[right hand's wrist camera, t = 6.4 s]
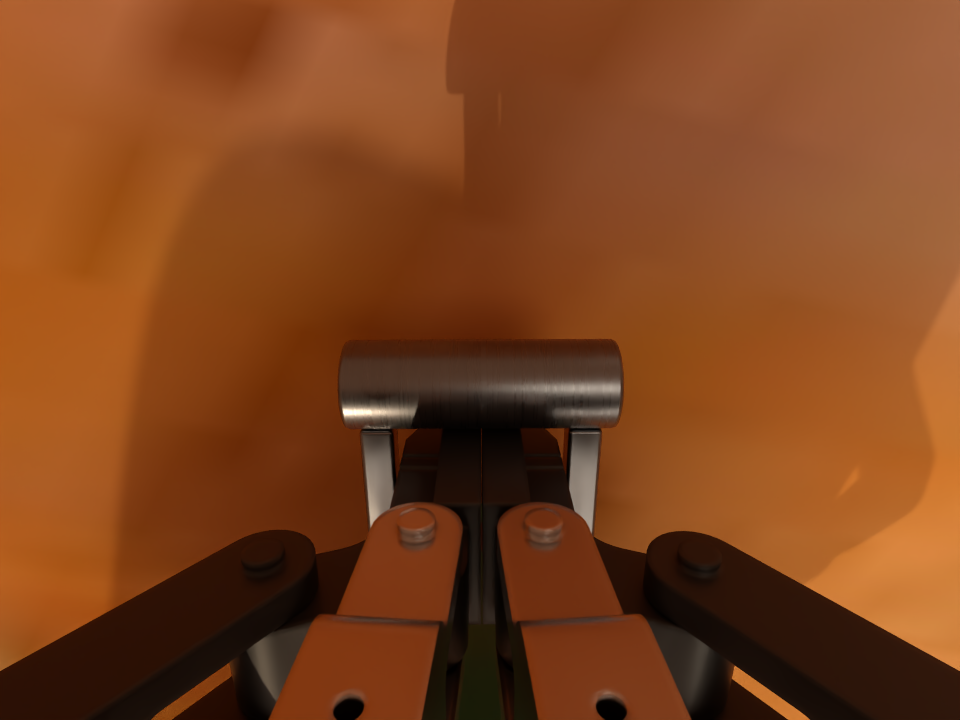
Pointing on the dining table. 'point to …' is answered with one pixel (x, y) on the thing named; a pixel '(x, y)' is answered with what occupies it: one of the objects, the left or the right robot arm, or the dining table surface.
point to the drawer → (481, 427)
